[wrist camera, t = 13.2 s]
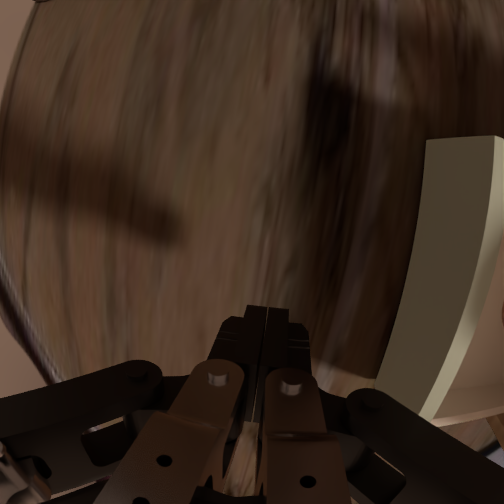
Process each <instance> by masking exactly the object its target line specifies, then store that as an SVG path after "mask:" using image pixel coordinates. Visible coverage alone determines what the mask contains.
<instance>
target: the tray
mask: <svg viewBox="0 0 504 504" xmlns="http://www.w3.org/2000/svg"><path fill="white" fill-rule="evenodd" d="M503 302H504V139H503V138H500V137H497V136H495V135H493V136H472V137H456V138H443V139H431V140H426V151H425V163H424V174H423V184H422V192H421V200H420V207H419V214H418V221H417V227H416V233H415V238H414V244H413V249H412V254H411V259H410V264H409V268H408V273H407V277H406V281H405V286H404V290H403V294H402V298H401V302H400V305H399V309H398V313H397V316H396V320H395V323H394V327H393V330H392V333H391V337H390V340H389V343H388V346H387V349H386V352H385V355H384V358H383V361H382V364H381V367H380V370H379V373H378V375H377V378H376V381H375V384H374V386H375V389H376V390H380V391H382V392H384V393H386V394H387V395H389V396H390V397H392V398H393V399H395V400H396V401H398V402H399V403H401V404H402V405H404V406H405V407H407V408H408V409H410V410H411V411H413V412H415V413H416V414H418V415H419V416H421V417H422V418H424V419H425V420H427V421H428V422H430V423H431V424H433V425H435V426H436V427H439V426H445V425H451V424H456V423H462V422H467V421H472V420H476V419H481V418H485V417H489V416H493V415H497V414H501V413H504V326H503V323H502V306H503Z"/></svg>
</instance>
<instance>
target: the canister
mask: <svg viewBox="0 0 504 504" xmlns="http://www.w3.org/2000/svg"><path fill="white" fill-rule="evenodd" d="M502 323H503V326H504V302H503V306H502Z"/></svg>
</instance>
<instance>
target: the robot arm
mask: <svg viewBox="0 0 504 504" xmlns="http://www.w3.org/2000/svg"><path fill="white" fill-rule="evenodd" d="M33 1H38V2H41V1H47V0H33ZM266 315H267V307H263V306H254V305H247V307H246V311H245V314H244V317H235V316H231V317H229V318H228V319H226V320H225V321H224V322H223V323H222V325H221V327H220V330H219V332H218V334H217V337H216V339H215V342H214V344H213V346H212V349H211V351H210V354H209V356H208V358H207V360H206V361H203V362H201V363H199V364H197V365H196V366H195V367H194V369H193V370H192V372H191V374H190V375H186V376H163V375H162V371H161V369H160V368H159V367H158V366H157V365H155V364H154V363H152V362H149V361H145V360H131V361H127V362H124V363H121V364H118V365H115V366H111V367H108V368H105V369H102V370H99V371H96V372H93V373H90V374H86V375H83V376H80V377H76V378H73V379H70V380H66V381H63V382H60V383H56V384H53V385H49V386H46V387H43V388H38V389H35V390H31V391H27V392H24V393H20V394H16V395H12V396H8V397H4V398H0V504H352V502H351V497H352V498H353V499H354V500H356V501H357V502H358V503H359V504H504V468H503V467H501V466H500V465H498V464H496V463H494V462H493V461H491V460H489V459H488V458H486V457H484V456H483V455H481V454H479V453H478V452H476V451H474V450H473V449H471V448H470V447H468V446H466V445H465V444H463V443H461V442H460V441H458V440H457V439H455V438H453V437H452V436H450V435H449V434H447V433H446V432H444V431H442V430H441V429H439V428H438V427H436V426H435V425H433V424H431V423H430V422H428V421H427V420H425V419H424V418H422V417H421V416H419V415H418V414H416V413H415V412H413V411H411V410H410V409H408V408H407V407H405V406H404V405H402V404H401V403H399V402H398V401H396V400H395V399H393V398H392V397H390V396H389V395H387V394H386V393H384V392H382V391H380V390H376V389H371V388H362V389H358V390H355V391H353V392H351V393H350V394H349V395H348V397H347V398H343V397H339V396H335V395H332V394H329V393H327V392H325V391H323V390H322V389H320V388H319V387H318V384H317V381H316V379H315V378H314V377H313V376H312V371H311V358H310V349H309V348H310V346H309V335H308V331H307V330H306V328H305V327H304V326H303V325H302V324H299V323H289V309H282V308H272V307H269V310H268V317H267V323H266ZM265 324H266V330H265ZM264 333H265V336H264ZM263 342H264V343H263ZM258 377H259V378H258ZM257 383H258V386H257ZM256 389H257V395H256ZM255 395H256V403H255V412H254V420H253V422H257V423H259V429H258V437H257V443H256V466H255V488H254V496H245V497H232V496H228V495H225V494H223V489H224V485H225V482H226V479H227V476H228V473H229V470H230V467H231V464H232V461H233V458H234V455H235V451H236V448H237V445H238V442H239V436H240V434H241V432H242V428H243V423H244V421H248V422H251V419H252V413H253V407H254V401H255ZM119 417H123V421H121V422H119V423H116V424H113V425H111V426H108V427H105V428H103V429H100V430H97V431H94V432H92V433H89V434H85V435H82V433H83V432H84V431H85V430H87V429H89V428H92V427H95V426H97V425H100V424H103V423H106V422H108V421H111V420H114V419H116V418H119ZM375 452H376V453H377V454H378V455H380V456H381V457H382V458H384V459H385V460H386V461H388V462H389V463H390V464H392V465H393V466H394V467H396V468H397V469H398V470H400V471H401V472H402V473H403V474H404V476H403V475H402V474H400V473H399V472H398V471H396V470H395V469H394V468H392V467H391V466H390V465H388V464H387V463H386V462H385V461H383V460H382V459H381V458H379V457H378V456H377V455H376V454H374V453H375ZM111 474H112V476H111V477H110V479H108V480H104V481H100V482H97V483H94V484H92V485H89V486H87V487H84V488H82V489H79V490H76V491H74V492H71V493H68V494H65V495H63V496H60V497H57V498H54V499H51V495H53V494H57V493H60V492H63V491H66V490H69V489H73V488H76V487H79V486H81V485H84V484H87V483H90V482H93V481H95V480H98V479H101V478H103V477H106V476H109V475H111ZM350 496H351V497H350ZM50 499H51V500H50Z"/></svg>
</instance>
